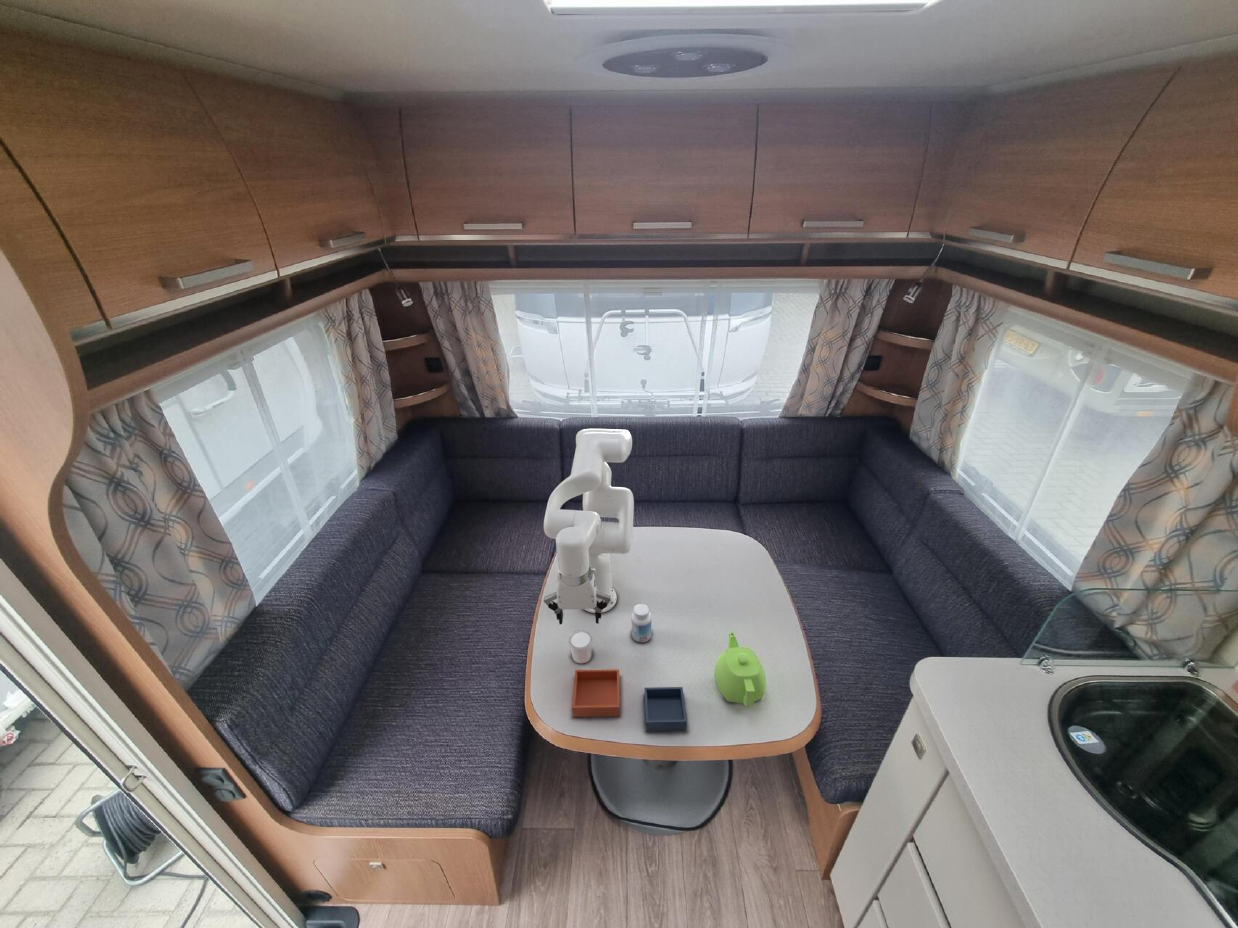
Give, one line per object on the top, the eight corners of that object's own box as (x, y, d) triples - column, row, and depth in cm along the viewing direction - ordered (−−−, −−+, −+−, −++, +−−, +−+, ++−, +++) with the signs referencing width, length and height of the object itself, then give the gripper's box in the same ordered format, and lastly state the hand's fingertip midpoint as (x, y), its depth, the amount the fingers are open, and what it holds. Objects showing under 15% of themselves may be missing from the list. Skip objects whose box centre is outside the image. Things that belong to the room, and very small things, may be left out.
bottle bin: (644, 696, 133) (644, 687, 131) (681, 695, 133) (682, 686, 131) (646, 731, 124) (646, 722, 122) (686, 730, 124) (686, 721, 122)
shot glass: (590, 666, 141) (588, 650, 138) (567, 663, 142) (565, 647, 139) (595, 647, 147) (594, 631, 143) (574, 643, 148) (572, 628, 145)
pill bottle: (653, 629, 152) (654, 604, 146) (648, 645, 147) (648, 619, 141) (635, 625, 154) (634, 599, 148) (629, 640, 149) (628, 614, 143)
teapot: (706, 656, 143) (710, 627, 137) (752, 654, 144) (757, 624, 137) (722, 722, 126) (726, 692, 120) (773, 719, 126) (780, 689, 120)
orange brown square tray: (576, 678, 138) (575, 669, 136) (619, 678, 138) (619, 669, 136) (573, 716, 128) (572, 707, 126) (619, 716, 128) (619, 706, 126)
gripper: (609, 561, 124) (611, 608, 133) (541, 562, 124) (548, 609, 133) (609, 582, 118) (611, 630, 127) (537, 584, 118) (545, 632, 127)
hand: (579, 619), depth 130 cm, fingers open, 9 cm apart
